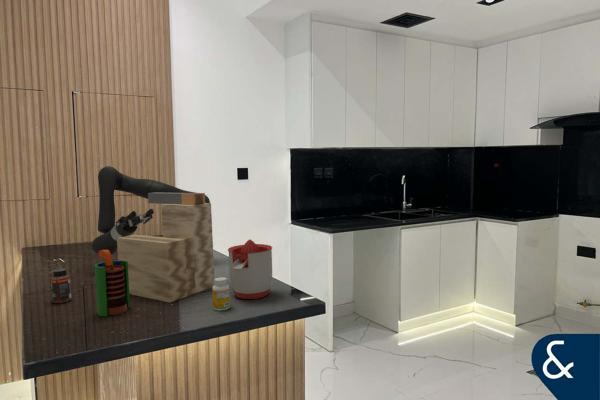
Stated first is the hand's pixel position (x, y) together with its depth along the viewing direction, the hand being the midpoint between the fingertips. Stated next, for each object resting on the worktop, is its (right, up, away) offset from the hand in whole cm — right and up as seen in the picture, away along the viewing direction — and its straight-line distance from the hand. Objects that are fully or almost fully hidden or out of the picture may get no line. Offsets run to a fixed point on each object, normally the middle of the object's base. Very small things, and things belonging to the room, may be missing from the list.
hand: (144, 211), depth 181 cm
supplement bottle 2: (+38, -31, -37) cm, 61 cm away
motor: (+3, -32, -37) cm, 48 cm away
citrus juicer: (+46, -29, -24) cm, 60 cm away
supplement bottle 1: (-20, -31, -24) cm, 44 cm away
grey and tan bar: (+16, +3, -10) cm, 19 cm away
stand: (+14, -29, -13) cm, 35 cm away
